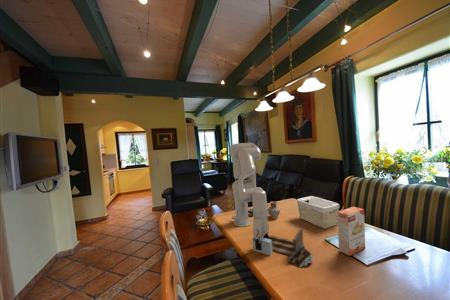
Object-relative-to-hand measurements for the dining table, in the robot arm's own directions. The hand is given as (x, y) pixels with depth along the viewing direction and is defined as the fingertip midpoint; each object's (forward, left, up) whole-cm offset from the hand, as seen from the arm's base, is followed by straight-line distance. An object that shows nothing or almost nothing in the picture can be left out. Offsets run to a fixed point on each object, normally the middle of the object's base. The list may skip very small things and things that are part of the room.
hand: (262, 245), depth 102 cm
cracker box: (+40, +23, -4) cm, 46 cm away
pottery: (-18, +50, -4) cm, 54 cm away
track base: (+7, +10, -4) cm, 13 cm away
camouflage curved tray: (+20, +1, -4) cm, 20 cm away
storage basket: (+19, +53, -4) cm, 57 cm away
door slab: (0, 0, -4) cm, 4 cm away
